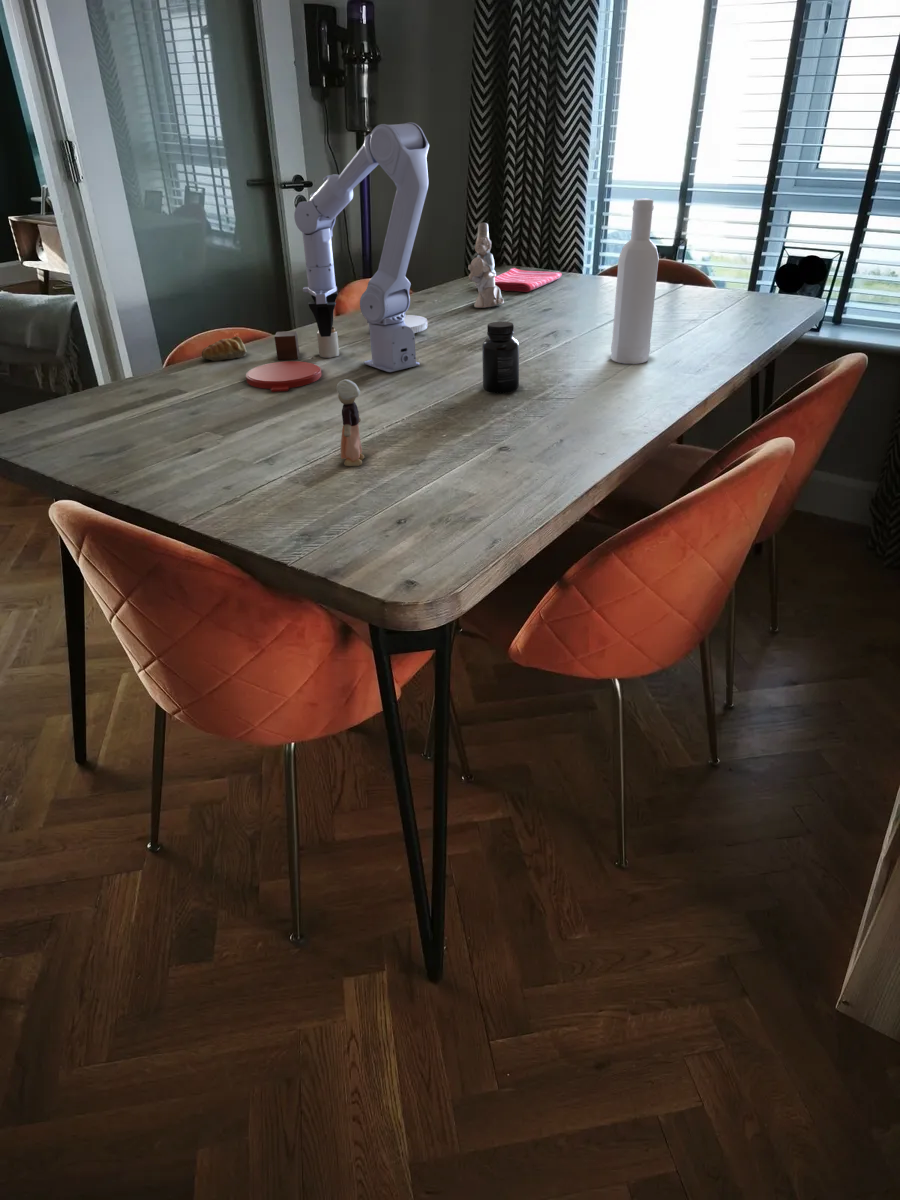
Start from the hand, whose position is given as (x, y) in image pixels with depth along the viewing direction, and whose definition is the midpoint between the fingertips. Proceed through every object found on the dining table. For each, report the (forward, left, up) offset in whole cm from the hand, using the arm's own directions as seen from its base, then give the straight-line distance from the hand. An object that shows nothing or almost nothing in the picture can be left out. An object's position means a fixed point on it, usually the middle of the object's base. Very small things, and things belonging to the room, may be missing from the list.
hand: (326, 331), depth 174 cm
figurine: (+11, -57, -5) cm, 58 cm away
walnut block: (+5, +7, -5) cm, 10 cm away
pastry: (+15, +17, -5) cm, 23 cm away
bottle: (-49, -43, -5) cm, 65 cm away
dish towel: (+26, -84, -5) cm, 88 cm away
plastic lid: (+5, -23, -5) cm, 24 cm away
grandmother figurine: (-56, +31, -5) cm, 64 cm away
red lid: (-8, +16, -5) cm, 19 cm away
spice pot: (0, 0, -5) cm, 5 cm away
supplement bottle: (-45, -10, -5) cm, 46 cm away
